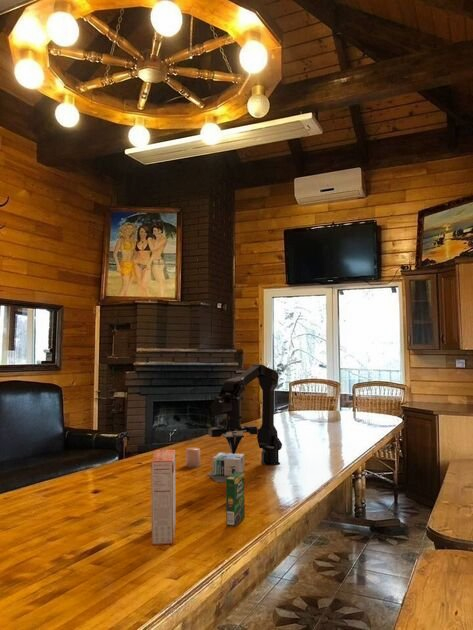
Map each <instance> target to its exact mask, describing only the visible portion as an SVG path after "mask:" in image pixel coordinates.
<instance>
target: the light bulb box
mask: <svg viewBox="0 0 473 630" xmlns="http://www.w3.org/2000/svg"><path fill="white" fill-rule="evenodd" d="M245 456H246V455H245V453H235V454H232V452H218V453H217V454H216V455H215V456H213V457H212V464H211V465H212V469H211V473H212V475H223V476H231V475H233V474H234V473H235V472H243V473H244V471H245V464H246V463H245V460H246V459H245Z"/></svg>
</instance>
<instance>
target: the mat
mask: <svg viewBox="0 0 473 630" xmlns="http://www.w3.org/2000/svg"><path fill="white" fill-rule="evenodd" d="M206 475H207V476H208V477H210V478H211V479H212V480H213V481H214V482H216V483H217V484H218V483H226V479H227V478H228V477H230V476H223V475H212V472H211V473H210V472H208V473H206ZM245 480H246V478H244V481H245Z"/></svg>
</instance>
